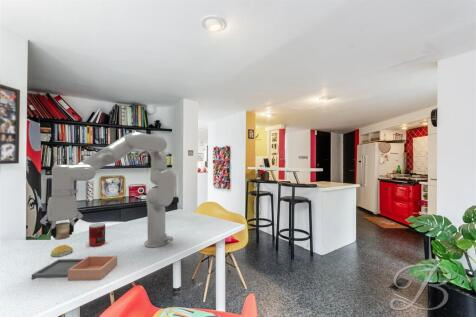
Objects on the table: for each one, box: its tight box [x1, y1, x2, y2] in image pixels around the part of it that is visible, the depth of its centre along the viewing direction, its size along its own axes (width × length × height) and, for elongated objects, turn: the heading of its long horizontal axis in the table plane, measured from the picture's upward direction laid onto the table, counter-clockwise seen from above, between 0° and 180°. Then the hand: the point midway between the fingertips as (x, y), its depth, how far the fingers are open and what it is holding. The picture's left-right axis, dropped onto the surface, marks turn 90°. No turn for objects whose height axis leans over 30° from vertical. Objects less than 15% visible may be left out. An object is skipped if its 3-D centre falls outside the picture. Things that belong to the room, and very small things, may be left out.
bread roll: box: [50, 244, 74, 258], centre depth 114 cm, size 8×9×4 cm
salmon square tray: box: [67, 255, 118, 281], centre depth 94 cm, size 13×13×4 cm
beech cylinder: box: [54, 221, 71, 241], centre depth 97 cm, size 5×5×6 cm
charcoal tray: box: [31, 258, 85, 280], centre depth 97 cm, size 14×14×2 cm
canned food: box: [88, 222, 106, 248], centre depth 127 cm, size 8×8×11 cm
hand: (62, 235), depth 97 cm, fingers closed on beech cylinder, 4 cm apart
